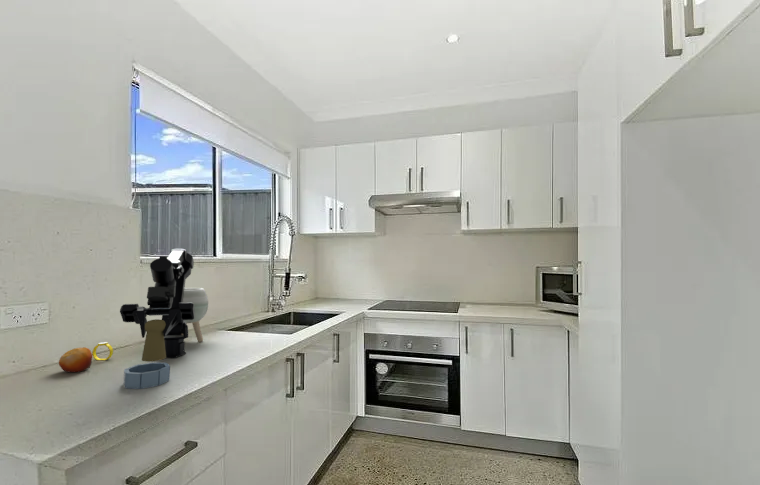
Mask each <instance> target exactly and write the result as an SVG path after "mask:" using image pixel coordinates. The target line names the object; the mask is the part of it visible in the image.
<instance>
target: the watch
mask: <svg viewBox="0 0 760 485" xmlns="http://www.w3.org/2000/svg"><path fill="white" fill-rule="evenodd" d="M101 346H102V347H104V346H105V347H107V348H108V350H109V354H108V356H107V357H106V358H99V357H98V356H97V349H98V348H99V347H101ZM91 353H92V359H94V360H96V361H107V360H109V359H111V358H112V356H113V354H114V348H113V347H112V345H111V344H109V342H108V341H104V342H103V341H101V342H98V343H97V344H96V345H95V346H94V347H93V349H92V351H91Z"/></svg>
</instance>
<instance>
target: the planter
mask: <svg viewBox="0 0 760 485" xmlns="http://www.w3.org/2000/svg"><path fill="white" fill-rule="evenodd" d="M185 302H192V303H193V304H194V309H195V316H194V319H193V320H185V322H186V324H192V328H193V331H194V334H195V337H196V339H197V342H198V343H202V342H203V341H204V338H203V333H202V330H201V325H200V321H201V320H202V319H203V318H204V317H205V316H206V314H207V312H208V310H209V309H208V308H209V298H208V294H207V291H206V290H205V288H203V287H185V288H184V296H183V303H185ZM182 335H183V334H182Z"/></svg>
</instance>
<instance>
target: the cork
mask: <svg viewBox="0 0 760 485" xmlns="http://www.w3.org/2000/svg"><path fill="white" fill-rule="evenodd" d="M165 326H166V323H165V321H164V320H162V319H157V318H156V319H151V320H147V322H146V324H145V331H146V333H145V340H144V344H143V350H142V356H141V361H142V362H145V363H146V362H147V363H151V362H159V361H161V360H164V359H166V351H165V342H164V335H163V334H164V333H163V331H164V329H165Z"/></svg>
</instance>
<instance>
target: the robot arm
mask: <svg viewBox="0 0 760 485" xmlns="http://www.w3.org/2000/svg"><path fill="white" fill-rule="evenodd" d="M194 263H195V262H194V257H193V255H191V254H190V253H189V252H187V249H184V248H173V249H171V250H170V253H169V254H168V256H167V255H160V256H159V258H157V259H154V260H152V261H151V263H150V264H149V268H150V271H151V272H150V273H151V277H152V281H153V282H154V283H155V284H154V286H148V288H147V294H146V299H147V302H146V304H147V306H148V307H145V306H140V305H139V303H125V304H122V305H121V306H120V309H119V313H120V316H121V319H122V322H124V323H135V325H139V326H140V328H139V329H140V333H141V338H145V337H146V334H147V332H146V331H145V324H146V322H147V321H148V319H147V317H148V316H150V317H151V316H154V317H155V316H161V320H164V321H165V323H166V326H165V329H164V331H163V333H164V334H163V335H164V342H165V351H166V358H170V359H172V358H173V359H175V358H178V357H180V356H183V355H186V354H187V352H186V351H185V347H186V346H185V344H186V343H185V339H188V338H189V325H187V324H188V323H187V324H186V322H185V320H193V319H194V316H195V309H194V304H193V303H192V302H185V303H183V296H184V288H186V280H187V279H188V278H189V277H190V276H191V274H192V269H194V267H195V266H194ZM182 334H183V335H182ZM166 358H165V359H166Z"/></svg>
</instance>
